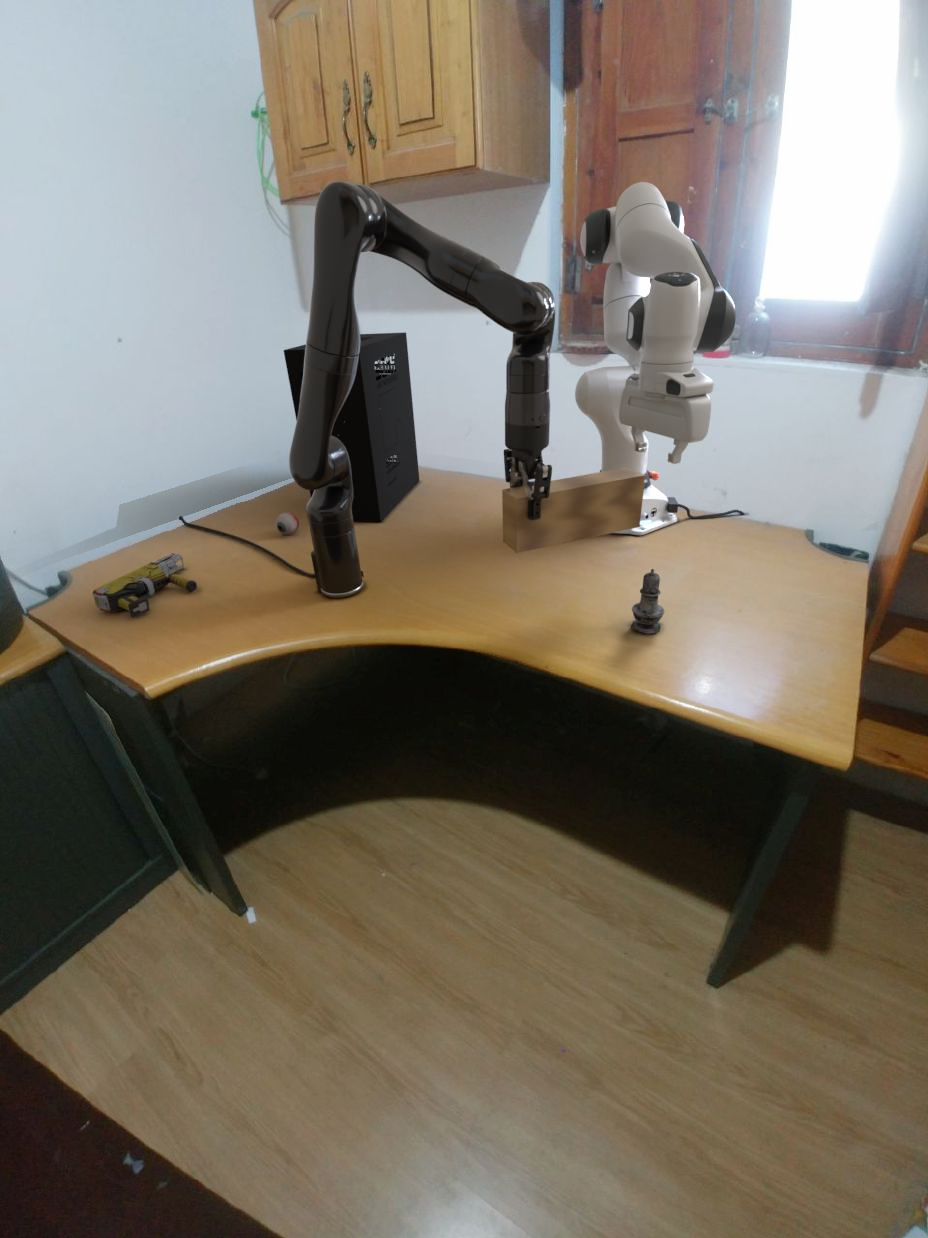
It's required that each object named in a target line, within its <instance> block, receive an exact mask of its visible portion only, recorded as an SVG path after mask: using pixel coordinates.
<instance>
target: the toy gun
mask: <svg viewBox="0 0 928 1238" xmlns="http://www.w3.org/2000/svg"><path fill="white" fill-rule="evenodd" d="M179 561H181V564H182V565H180V564H177V563H178V562H179ZM184 568H185V564H184V559H183V556H182V554H179V553H177V554H176V553H174V552H172V553H170V554H168V555H166V556H163V557H162V558H160V559H157V560H156V561H154V562H152V561H151V562H149V563H147V564H145V565H143V566H141V567H139V568H137V569H135V570H132V571H131V572H129V573H126V574H124V575H122V576H120V577H117V578H115V579H114V580H112V581H110V582H107V583H105V584H104V585H102V586H99V587H97V588H95V589H93V591H92V596H93V599H94V603H95V607H96V608H97V609H99V611H100V612H102V611H103V612H104V613H106V612H108V611H109V612H116V611H120V610H126V611H128V612H129V614H130V617H131V618H136V617H139V616H141V615H143V614H145V613H147V612H150V610H151V609H150V605H149V600H148V599H149V598H151V597H152V596H154V595H155V594H156V593H155V592H156V590H159V589H162V588H164V587H166V586H168V585H169V584H172V585H175V586H177V587H179V588H182V589H184V590H187V591H188V592H189V593H192V592H194V591H196V590H197V589H198V584H197V582H196V581H195V580H193V579H189V578H186V577H184V576H182V575H179V574H177V572H179V571H180V570H183V569H184Z"/></svg>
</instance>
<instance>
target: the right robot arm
mask: <svg viewBox="0 0 928 1238" xmlns="http://www.w3.org/2000/svg"><path fill="white" fill-rule="evenodd" d="M684 228H685V219H684V213H683V208H682V206H681V205H680V203H679V202H677V201H674V200H668V199H665V198H664V196H663V194H662V192H660V190H659V188H658V187H657V186H655V185H654V184H653V183H650V182H647V181H640V182H639V181H638V182H636V183H634V184H631V185H630V186H628V187H627V188H625V190H624V191H623V192H622V193H621V195H619V198H618V200H617V202H616V205H615V206H612V207H608V208H604V207H602V208H598V209H596V210H594V211H591V212H590V213H588V214H587V216H586V217H585V218H584V220H583V224H582V227H581V230H580V235H579V236H580V237H579V243H580V248H581V252H582V254H583V258H584V260H585V261H586V262H587V263H588V264H593V265H600V266H601V265H603V264H610V265H609V266H608V268H607V270H606V273H605V280H604V287H603V299H602V300H603V304H602V305H603V309H602V310H603V335H604V336H603V337H604V343H605V345H606V347H607V348H608V350H609V351H610V352H612V353H613V354H615V355H618V356H620V357H622V359H623V360H625V361H626V362H627V364H628V365H621V366H620V365H619V366H604V367H599V368H595V369H592V370H591V369H590V370H588V371H585V372H584V373H582V375H581V376H580V377H579V378H578V381H577V383H576V385H575V390H574V398H575V402H576V405H577V407H578V409H579V410H580V412H581V413H582V414H583V415H585V416H586V417H588V418H589V419H590V420H591V421H592V422H593V424H594V426H595V427H596V429H597V431H598V434H599V436H600V437H599V438H600V441H601V442H600V443H601V468H600V470H599V472H604V471H610V470H615V469H621V468H626V467H627V468H629V469H632V470H634V471H636V472H639V473H641V474H644V475H645V482H644V492H643V501H642V510H641V519H640V527H637V528H632V529H627V530H623V531H618V532H613V533H612V534H623V535H625V534H626V535H632V536H633V535H634V536H645V535H646V534H650V533H652V532H654V531H657V530H660V529H662V528H665V527H668V526H670V525H672V524H675V523H677V522H678V516H677V515H676V514H677V513H678V510H679V508H681V509H683V510H685V511H686V515H687V517H688V518H689V519H692V520H699V519H705V518H713V517H715V518H716V517H722V516H728V515H730V514H735V513H737V514H739V515H741V516H745V514H746V513H744V511H742V510H740V509H731V510H729V511H725V512H717V513H711V514H702V515H692V514H691V511H690V508H688V506H686V505H683V504H681V503H679V502H678V501H677V499H676V497H675V496H669V497H668V496H666V495H665V494H664V493H663V492H661V491H660V490H659V489H658V488H656V487H655V486H654V485H652V483H651V480H653V481H658V479H659V478H660V473H659V472H657V471H654V470H651V471H649V470H648V469H647V466H648V458H649V457H648V456H649V446H650V443H649V440H648V438H647V437H646V435H645V434H644V433H645V432H649V433H652V434H656V435H659V436H662V437H666V438H669V439H673V445H674V447H673V450H672V451H671V452H668V453H667V462H668V463H669V464H672V465H677V464H680V463H681V461H682V454H683V453H684V451H685V450H686V449H687V447H688V446H689V444H692V443H697V442H701V441H703V440H704V439H705V438H706V437H707V435H708V434H709V433H708V432H709V428H710V422H711V415H712V414H711V412H712V400H711V398H710V396H709V394H711V393H712V392H713V390H714V385H715V384H714V383H715V382H714V380H713V379H711V378H710V377H709V376H707V375H705V373H703V372H701V371H700V370H698V368H697V367H695V366H694V362H695V361H694V359H695V354H694V352H697V353H714V352H715V351H716V350H718V349H719V348H720V347H721V346H723V345H724V344H725V343H726V342H727V341H728V340H729V339H730V338H731V337H732V334H733V332H734V330H735V326H736V319H737V317H736V316H737V314H736V306H735V305H736V304H735V302H734V301H733V299H732V297H731V295H730V294H729V293H728V292H727V291H726V289H724V287H722V286H721V284H720V282H719V281H718V278H717V276H716V275H715V272H714V271H713V269H712V267H711V265H710V262H709V261H708V259H707V257H706V255H705V253H704V252H703V250H702V248H701V247H700V245H699V244H698V242H697V241H696V240H694V239H693V238H692V237H690V236H688V235H686V234H685V233H684V230H685V229H684ZM739 510H740V511H739Z"/></svg>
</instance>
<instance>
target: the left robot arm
mask: <svg viewBox="0 0 928 1238" xmlns="http://www.w3.org/2000/svg"><path fill="white" fill-rule="evenodd" d="M313 220H314V223H313V276H312V285H311V287H312V288H311V297H310V306H309V307H310V308H309V319H308V326H307V333H306V341H305V344H306V349H305V358H304V371H303V380H302V388H301V396H300V404H299V412H298V418H297V421H296V423H295V428H294V432H293V437H292V440H291V445H290V449H289V457H288V464H289V472H290V474H291V476H292V478H293V480H294V482H295V483H296V485H298V487H300V488H301V489H304V490H306V491H309V490H314V493H313V495H312V497H311V496H310V498H309V500H308V502H307V504H306V507H305V511H306V516H307V521H308V527H309V532H310V538H311V542H312V548H313V550H311V552H310V557H311V564H312V568H313V573H309V572H306V571H304V570H302V569H300V568H299V567H296V566H295V565H292V564H291V563H289V562H288V561H286V560H285V559H284V558H281V557H280V556H278V555H277V554H275V553H273V552H272V551H271V550H269V549H268V548H265V547H263V546H261V545H259V544H257V543H255V542H252V541H250V540H248V539H245V538H242V537H240V536H236V535H234V534H231V533H227V532H224V531H220V530H217V529H213V528H211V527H210V528H209V527H206V526H203V525H198V524H193V523H191V522H188V521H186V520H185V518H184V517H183V516H182V515H179V516H178V520H179V521H181V523H182V524H183V525H186V526H188V527H191V528H195V529H200V530H203V531H208V532H211V533H214V534H217V535H221V536H225V537H228V538H231V539H234V540H238V541H240V542H242V543H246V544H247V545H250V546H252V547H254V548H257V549H258V550H260V551H262V552H264V553H266V554H268V555H270V556H271V557H273V558H274V559H276V560H278V561H279V562H280V563H282V564H283V565H285V566H286V567H288V568H289V569H292V570H293V571H295V572H297V573H299V574H301V575H303V576H305V577H308V578H313V579H315V584H316V589H317V592H318V593H321V594H322V596H325V597H327V598H331V599H343V598H348V597H352V596H355V595H357V594H358V593H360V592H361V591H362V590H363V589H364V587H365V586H364V580H363V578H365V576H364V575H365V574H364V571H363V570H362V567H361V562H360V554H359V548H358V544H357V543H358V540H357V535H356V529H355V521H353V515H352V502H353V484H352V474H351V465H350V459H349V455H348V453H347V450H346V448H345V446H344V445H343V443H342V442H341V441H340V440H339V439H338V438H337V437H335V436H333V435H331V434H332V429H333V426H334V423H335V420H336V418H337V416H338V414H339V412H340V410H341V408H342V406H343V404H344V402H345V400H346V398H347V396H348V394H349V392H350V390H351V388H352V385H353V383H354V379H355V375H356V371H357V365H358V359H359V352H360V334H361V330H360V325H359V320H358V319H359V318H358V314H357V309H356V304H355V285H356V284H355V283H356V277H357V272H358V266H359V261H360V257H361V254H362V253H368V252H371V253H375V254H378V255H381V256H383V257H388V258H391V259H393V260H396V261H398V262H400V263H402V264H404V265H405V266H407V267H408V268H410V269H412V270H414V272H416V273H417V274H418V275H420V276H421V277H422V278H423V279H425V281H427V282H428V283H430V284H431V285H432V286H433V287H435V288H436V289H438V290H440V291H441V292H443V293H444V294H446V295H448V296H449V297H452V298H454V299H456V300H458V301H459V302H461V303H463V304H465V305H468V307H471V308H474V309H475V310H478V311H479V312H481V314H483V315H484V316H486V317H487V318H488V319H489V320H491V321H493V322H494V323H495V324H496V325H498V326H500V327H502V328H503V329H505V330H507V331H509V332H511V333H512V345H511V351H510V353H509V354H508V356H507V360H506V365H505V367H506V368H505V385H506V386H505V390H506V391H505V399H504V400H505V401H504V445H505V447H506V449H503V462H504V463H503V464H504V479H505V482H506V483H507V484H508V483H509V488H514V487H519V486H524V487H525V488H527V492H528V498H529V500H528V519H530V520H537V519H540V517H541V500H542V499H544V498H548V497H549V492H550V483H551V481H552V475H553V466H552V464H545V463H544V460H543V454H542V453H543V451H544V449H546V448H548V446H549V445H550V425H551V422H550V421H551V398H550V397H551V396H550V375H551V372H550V371H551V369H550V368H551V367H550V366H551V365H550V356H551V351H552V345H553V338H554V331H555V324H556V302H555V301H556V300H555V298H554V294H553V292H552V291H551V289H550V288H549V287H548V286H547V285H546V284H544V283H542V282H539V281H529V282H527V281H526V280H525V281H524V280H522V279H520V278H518V277H516V276H514V275H512V274H510V273H509V272H506V271H504V270H502V269H501V268H500V266H499V265H498V263H496V262H494V261H493V260H492V259H490V258H488V257H485V256H484V255H482V254H480V253H478V252H476V251H474V250H472V249H470V248H469V247H466V246H465V245H462V244H460V243H458V242H456V241H455V240H453V239H450V238H448V237H446V236H443V235H441V234H440V233H437V232H435V231H433V230H432V229H429V228H427V227H426V226H424V225H423V224H421V223H419V222H418V221H416V220H414V219H413V218H412V217H410V216H408V215H407V214H406V213H404V212H403V211H402V210H400V209H399V208H397V206H395V205H394V204H393V203H391V202H390V201H389V200H387V199H386V198H385V197H384V196H382V195H381V194H380V193H378V192H377V191H376V190H375V189H373V188H372V187H371V186H369V185H366V184H364V183H359V182H358V183H357V182H352V181H346V180H336V181H331V182H329V183H328V184H326V185H325V186H324V187H323V189H322V190H321V192H320V194H319V196H318V197H317V201H316V205H315V210H314V219H313ZM530 480H532V481H530ZM532 486H534V493H533V489H532ZM543 487H544V491H543Z"/></svg>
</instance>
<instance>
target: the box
mask: <svg viewBox="0 0 928 1238" xmlns="http://www.w3.org/2000/svg"><path fill="white" fill-rule="evenodd" d="M644 482H645V475H644V474H641V473H639V472H636V471H634V470H632V469H629V468H627V467H626V468H621V469H615V470H610V471H604V472H600V471H599V472H593V473H587V474H583V475H581V474H580V475H575V476H572V477H565V478H560V479H559V478H558V479H554V480H551V483H550V492H549V497H548V498H544V499H542V500H541V517H540V519H537V520H530V519H528V500H529V498H528V492H527V488H525V487H524V486H519V487H514V488H510V487H509V488H502V490H501V497H502V498H501V499H502V500H501V501H502V502H501V503H502V504H501V505H502V506H501V507H502V508H501V510H502V511H501V512H502V543H503V544H504V545H506V546H507V547H508V548H509V549H511V550H512V551H513V552H514V553H516V554H519V553H520V554H521V553H525V552H529V551H534V550H538V549H544V548H547V547H552V546H557V545H561V544H566V543H571V542H576V541H580V540H585V539H589V538H594V537H599V536H604V535H609V534H614V533H613V532H618V531H623V530H627V529H632V528H637V527H640V519H641V510H642V501H643V492H644ZM532 489H533V493H534V486H532ZM543 491H544V487H543Z"/></svg>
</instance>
